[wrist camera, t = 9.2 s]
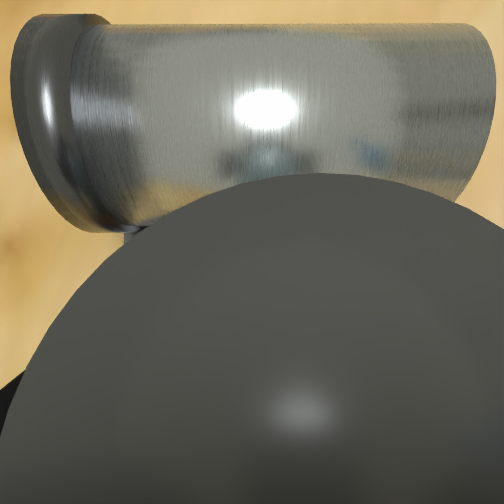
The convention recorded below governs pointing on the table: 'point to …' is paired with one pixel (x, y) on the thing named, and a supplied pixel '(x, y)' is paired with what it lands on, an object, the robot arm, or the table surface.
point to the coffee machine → (241, 109)
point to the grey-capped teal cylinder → (275, 357)
